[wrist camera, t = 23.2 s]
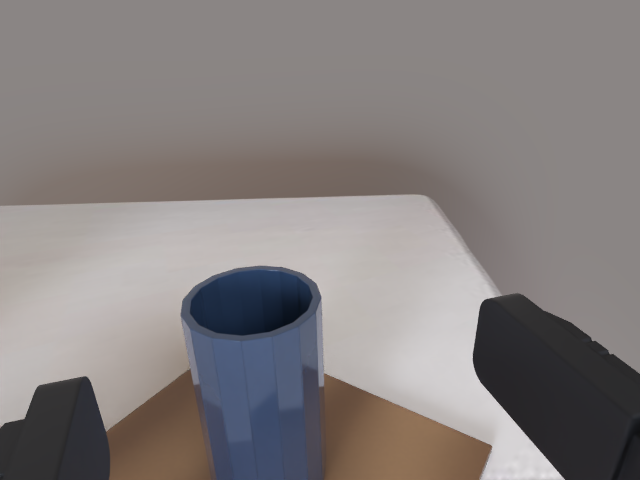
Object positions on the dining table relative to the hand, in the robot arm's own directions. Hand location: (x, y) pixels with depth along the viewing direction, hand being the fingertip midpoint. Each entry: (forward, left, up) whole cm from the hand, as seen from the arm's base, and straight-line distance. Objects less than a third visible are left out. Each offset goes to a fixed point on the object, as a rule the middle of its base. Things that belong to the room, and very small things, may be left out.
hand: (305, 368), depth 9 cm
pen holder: (-8, +7, -16) cm, 19 cm away
